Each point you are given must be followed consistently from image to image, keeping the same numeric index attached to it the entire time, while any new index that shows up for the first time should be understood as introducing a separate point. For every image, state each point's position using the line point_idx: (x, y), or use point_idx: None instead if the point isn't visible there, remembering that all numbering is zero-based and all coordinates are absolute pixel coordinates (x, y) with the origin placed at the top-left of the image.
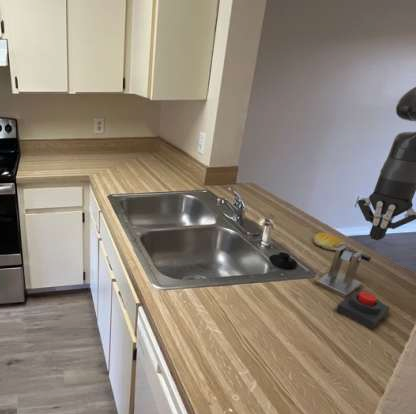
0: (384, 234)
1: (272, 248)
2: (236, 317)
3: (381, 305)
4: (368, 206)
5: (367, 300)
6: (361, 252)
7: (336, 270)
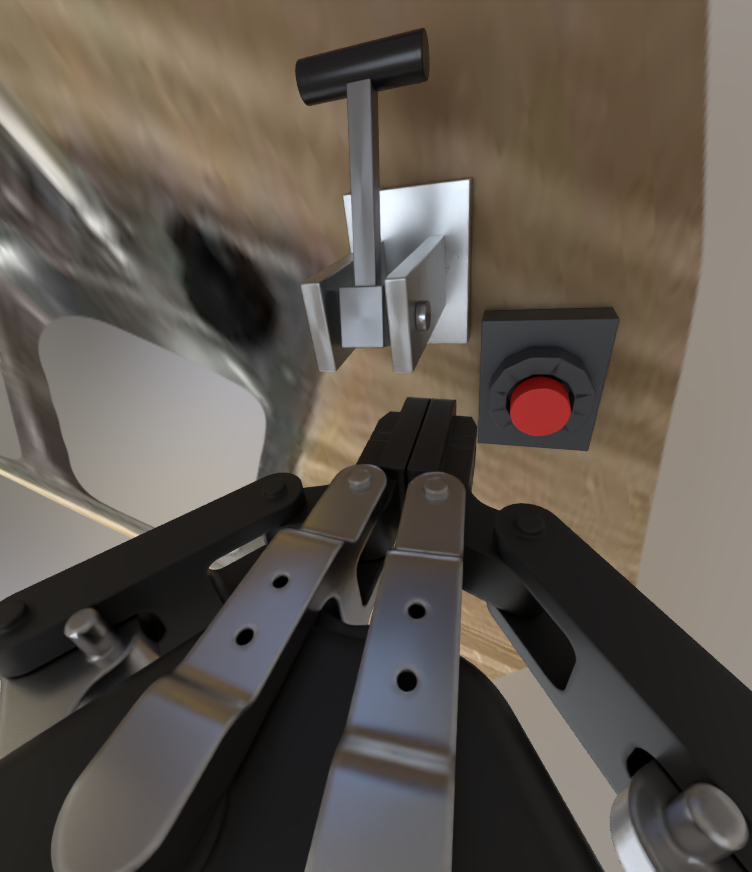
0: (473, 465)
1: (137, 232)
2: None
3: (591, 394)
4: (148, 608)
5: (545, 432)
6: (401, 292)
7: None
